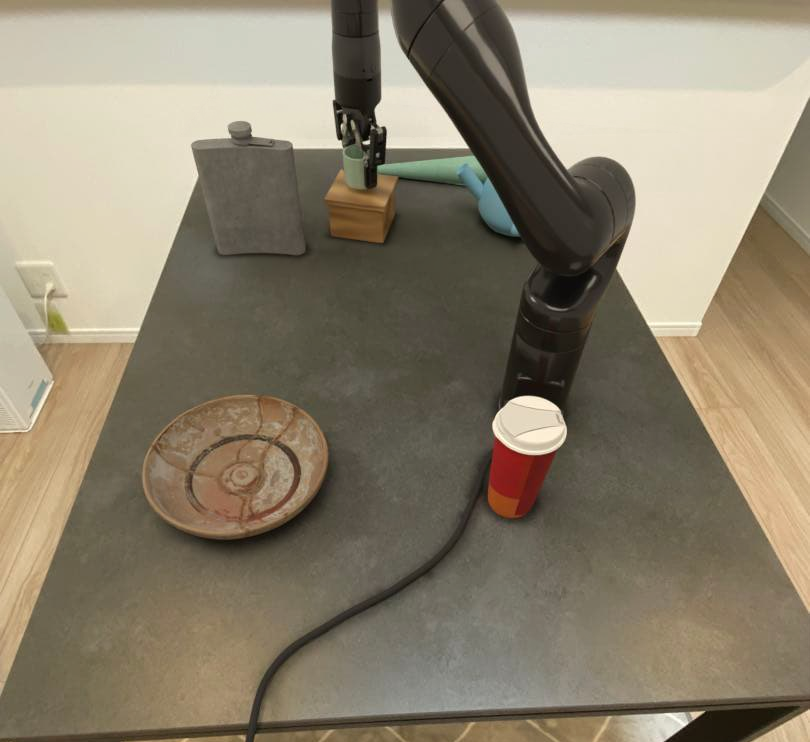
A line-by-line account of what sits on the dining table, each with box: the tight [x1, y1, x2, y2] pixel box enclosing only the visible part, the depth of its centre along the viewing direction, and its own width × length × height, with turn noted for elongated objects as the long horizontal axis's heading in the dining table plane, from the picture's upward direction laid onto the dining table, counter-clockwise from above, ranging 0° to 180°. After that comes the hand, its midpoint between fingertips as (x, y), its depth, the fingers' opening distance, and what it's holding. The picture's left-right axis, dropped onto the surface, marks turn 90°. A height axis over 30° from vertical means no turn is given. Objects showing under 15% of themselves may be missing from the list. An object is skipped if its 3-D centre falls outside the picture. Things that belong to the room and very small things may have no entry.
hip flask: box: [190, 120, 307, 256], centre depth 101 cm, size 16×4×20 cm, turn 91°
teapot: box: [456, 163, 521, 238], centre depth 111 cm, size 20×20×13 cm
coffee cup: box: [487, 396, 568, 519], centre depth 73 cm, size 8×8×15 cm
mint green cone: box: [378, 155, 488, 187], centre depth 122 cm, size 5×6×27 cm
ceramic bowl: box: [141, 394, 329, 541], centre depth 78 cm, size 23×24×5 cm
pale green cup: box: [341, 143, 378, 190], centre depth 106 cm, size 6×6×5 cm
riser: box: [323, 168, 399, 244], centre depth 111 cm, size 11×11×7 cm
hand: (361, 178), depth 107 cm, fingers closed on pale green cup, 6 cm apart
